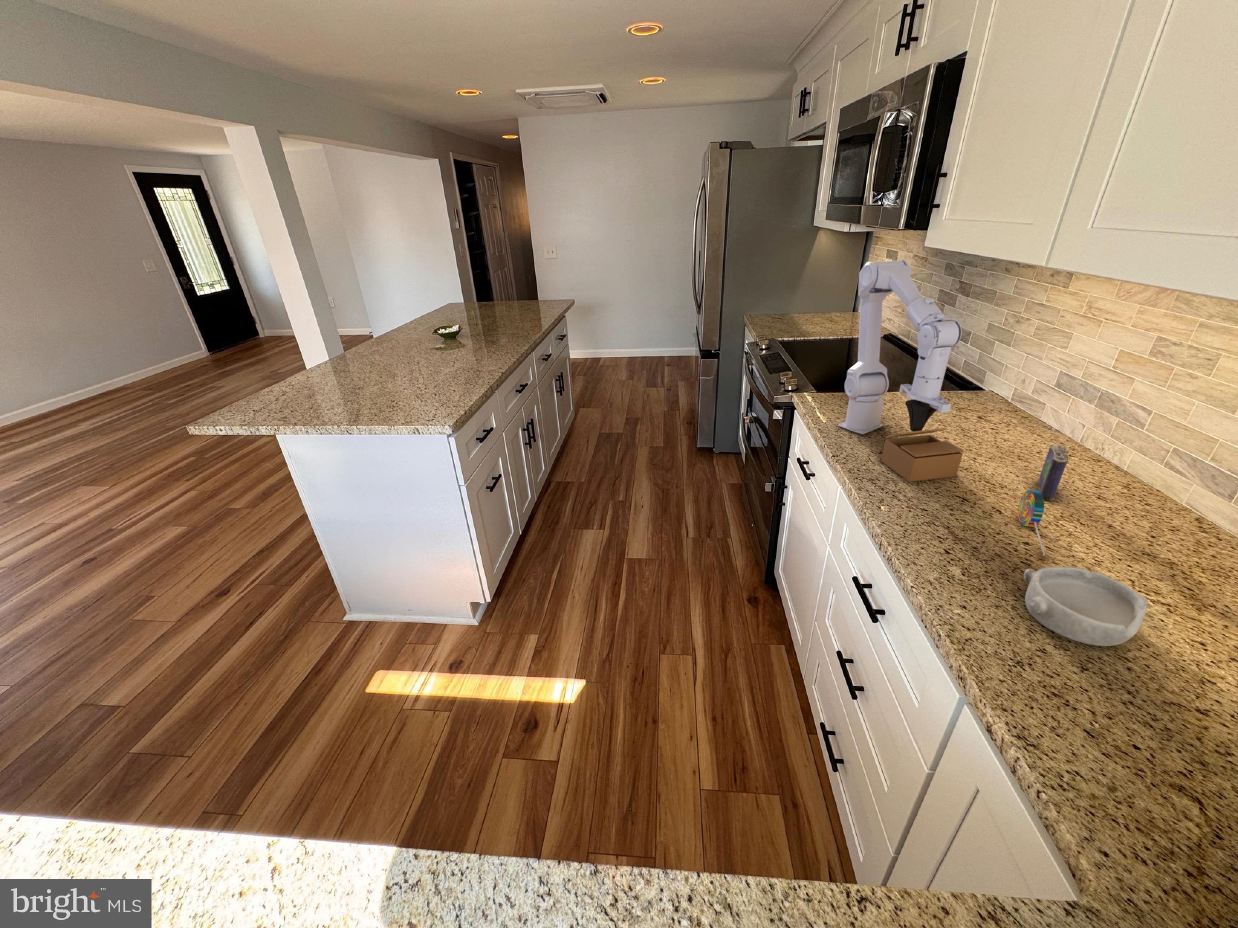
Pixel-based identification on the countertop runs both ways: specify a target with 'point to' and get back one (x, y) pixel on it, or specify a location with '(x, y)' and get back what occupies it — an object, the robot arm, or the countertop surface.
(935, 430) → the flap
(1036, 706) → the countertop surface
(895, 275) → the robot arm
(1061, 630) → the dish
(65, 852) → the countertop surface
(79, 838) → the countertop surface
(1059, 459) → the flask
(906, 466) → the carton
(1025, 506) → the lollipop
